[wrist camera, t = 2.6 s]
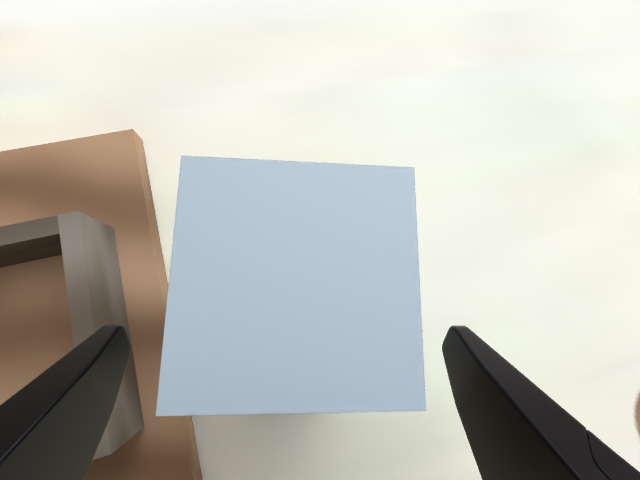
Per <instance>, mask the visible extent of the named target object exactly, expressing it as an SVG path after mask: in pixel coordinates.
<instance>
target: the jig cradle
mask: <svg viewBox="0 0 640 480" xmlns="http://www.w3.org/2000/svg"><path fill="white" fill-rule="evenodd" d="M167 296H168V284H167V278H166V272H165V267H164V261H163V255H162V250H161V244H160V238H159V233H158V227H157V222H156V216H155V210H154V205H153V199H152V193H151V188H150V182H149V176H148V171H147V165H146V159H145V154H144V148H143V142H142V139H141V138H140V137H139V136H138V135H137V133H136V132H135V131H134V130H133V129H131V130H125V131H119V132H113V133H107V134H101V135H95V136H90V137H84V138H78V139H72V140H66V141H60V142H55V143H49V144H43V145H37V146H31V147H25V148H19V149H14V150H8V151H2V152H0V405H1V404H2V403H3V402H5V401H6V400H7V399H9V398H10V397H11V396H13V395H14V394H15V393H16V392H18V391H19V390H20V389H22V388H23V387H24V386H26V385H27V384H28V383H29V382H31V381H32V380H33V379H35V378H36V377H37V376H39V375H40V374H41V373H42V372H44V371H45V370H46V369H48V368H49V367H50V366H52V365H53V364H54V363H55V362H57V361H58V360H59V359H61V358H62V357H63V356H64V355H66V354H67V353H68V352H70V351H71V350H72V349H74V348H75V347H76V346H77V345H79V344H80V343H81V342H83V341H84V340H85V339H87V338H88V337H89V336H90V335H92V334H93V333H94V332H96V331H97V330H98V329H100V328H101V327H102V326H104V325H106V324H122V325H123V326H124V327H125V330H126V332H127V335H128V338H129V341H130V344H131V352H130V356H129V359H128V362H127V366H126V369H125V372H124V376H123V379H122V383H121V386H120V389H119V393H118V396H117V399H116V403H115V406H114V409H113V411H112V414H111V417H110V419H109V422H108V424H107V426H106V429H105V431H104V433H103V436H102V438H101V441H100V443H99V445H98V448H97V450H96V453H95V455H94V457H93V460H92V462H91V465H90V467H89V469H88V472H87V474H86V477H85V479H84V480H202V476H201V470H200V464H199V459H198V453H197V447H196V442H195V436H194V431H193V425H192V419H191V415H188V416H156V408H157V398H158V388H159V378H160V368H161V357H162V347H163V337H164V327H165V317H166V307H167Z"/></svg>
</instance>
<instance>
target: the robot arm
mask: <svg viewBox="0 0 640 480" xmlns="http://www.w3.org/2000/svg"><path fill="white" fill-rule="evenodd" d="M130 352H131V344H130V341H129V338H128V335H127V332H126V330H125V327H124V326H123V325H122V324H106V325H104V326H102V327H101V328H100V329H98V330H97V331H96V332H94V333H93V334H92V335H90V336H89V337H88V338H87V339H85V340H84V341H83V342H81V343H80V344H79V345H77V346H76V347H75V348H74V349H72V350H71V351H70V352H68V353H67V354H66V355H64V356H63V357H62V358H61V359H59V360H58V361H57V362H55V363H54V364H53V365H52V366H50V367H49V368H48V369H46V370H45V371H44V372H42V373H41V374H40V375H39V376H37V377H36V378H35V379H33V380H32V381H31V382H29V383H28V384H27V385H26V386H24V387H23V388H22V389H20V390H19V391H18V392H16V393H15V394H14V395H13V396H11V397H10V398H9V399H7V400H6V401H5V402H3V403H2V404H1V405H0V480H84V479H85V477H86V474H87V472H88V469H89V467H90V465H91V462H92V460H93V457H94V455H95V453H96V450H97V448H98V445H99V443H100V441H101V438H102V436H103V433H104V431H105V429H106V426H107V424H108V422H109V419H110V417H111V414H112V411H113V409H114V406H115V403H116V399H117V396H118V393H119V389H120V386H121V383H122V379H123V376H124V372H125V369H126V366H127V362H128V359H129V356H130ZM442 352H443V356H444V360H445V364H446V368H447V372H448V376H449V380H450V385H451V389H452V393H453V397H454V400H455V404H456V407H457V410H458V413H459V416H460V418H461V421H462V424H463V427H464V430H465V432H466V435H467V438H468V441H469V444H470V446H471V449H472V452H473V455H474V457H475V460H476V463H477V466H478V469H479V471H480V474H481V477H482V480H640V472H639V471H638V470H636V469H635V468H634V467H633V466H631V465H630V464H629V463H628V462H626V461H625V460H624V459H623V458H621V457H620V456H619V455H618V454H617V453H615V452H614V451H613V450H612V449H611V448H609V447H608V446H607V445H606V444H604V443H603V442H602V441H601V440H600V439H599V438H597V437H596V436H595V435H594V434H593V433H591V432H590V431H589V430H586V428H585V427H584V426H583V425H582V424H581V423H580V422H578V421H577V420H576V419H575V418H574V417H572V416H571V415H570V414H569V413H568V412H567V411H565V410H564V409H563V408H562V407H561V406H560V405H558V404H557V403H556V402H555V401H554V400H552V399H551V398H550V397H549V396H548V395H547V394H545V393H544V392H543V391H542V390H541V389H540V388H538V387H537V386H536V385H535V384H534V383H532V382H531V381H530V380H529V379H528V378H527V377H525V376H524V375H523V374H522V373H521V372H519V371H518V370H517V369H516V368H515V367H514V366H512V365H511V364H510V363H509V362H508V361H507V360H505V359H504V358H503V357H502V356H501V355H499V354H498V353H497V352H496V351H495V350H494V349H492V348H491V347H490V346H489V345H488V344H487V343H485V342H484V341H483V340H482V339H481V338H479V337H478V336H477V335H476V334H475V333H474V332H472V331H471V330H470V329H469V328H468V327H466V326H451V327H450V328H449V330H448V332H447V335H446V337H445V339H444V342H443V345H442Z"/></svg>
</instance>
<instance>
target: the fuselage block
mask: <svg viewBox="0 0 640 480" xmlns="http://www.w3.org/2000/svg"><path fill="white" fill-rule="evenodd" d="M388 411H426V401H425V381H424V360H423V340H422V319H421V299H420V278H419V258H418V237H417V217H416V196H415V176H414V167H394V166H375V165H355V164H336V163H316V162H297V161H277V160H258V159H238V158H219V157H199V156H181V164H180V174H179V184H178V194H177V205H176V215H175V225H174V235H173V245H172V256H171V266H170V276H169V286H168V296H167V307H166V317H165V327H164V337H163V347H162V357H161V368H160V378H159V388H158V398H157V408H156V416H188V415H238V414H288V413H338V412H388Z"/></svg>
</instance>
